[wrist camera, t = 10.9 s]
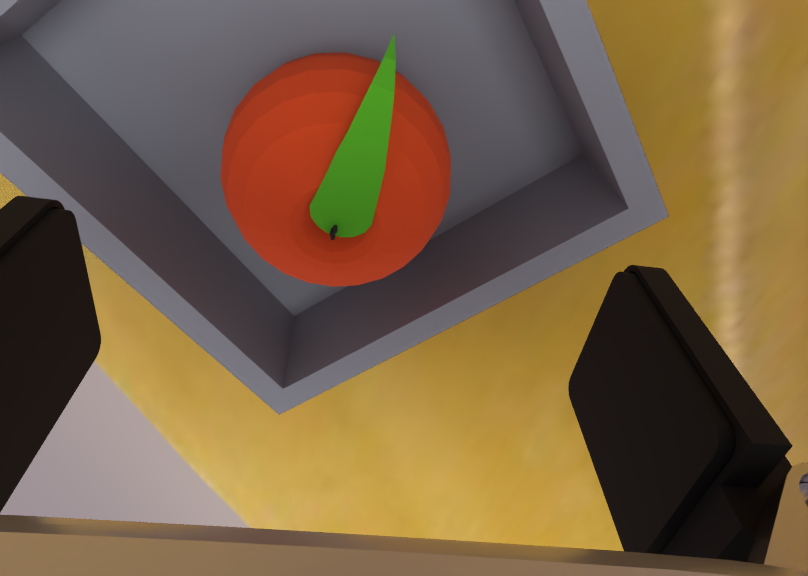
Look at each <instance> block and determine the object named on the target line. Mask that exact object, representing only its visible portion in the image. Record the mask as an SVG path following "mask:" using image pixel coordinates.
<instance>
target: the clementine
mask: <svg viewBox="0 0 808 576" xmlns="http://www.w3.org/2000/svg"><path fill="white" fill-rule="evenodd" d="M395 67H396V56H395V35H393V37H392V39H391V42H390V44H389V46H388V49H387V51H386V53H385V56H384V58H383V60H382V62H381V63H380V62H379V61H377V60H375V59H371V58H367V57H363V56H358V55H354V54H350V53H346V52H339V53H314V54H311V55H308V56H305V57H302V58H299V59H296V60H292V61H289V62H286V63H284V64H283V65H282V66H280V67H279V68H277V69H276V70H274V71H273V72H271V73H270V74H269V75H267V76H266V77H264V78H263V79H261V80H260V81H259V82H257V83H256V84H255V85H254V86H253V87H252V88H251V89H250V91H249V92H248V93H247V94H246V96H245V97H244V98H243V99H242V101H241V102H240V103H239V105H238V106H237V107H236V108H235V110H234V113H233V115H232V118H231V121H230V123H229V126H228V128H227V131H226V134H225V136H224V142H223V149H222V164H221V183H222V187H223V192H224V196H225V201H226V205H227V207H228V209H229V211H230V213H231V215H232V217H233V218H234V220H235V222H236V224H237V226H238V228H239V230H240V232H241V233H242V235H243V237H244V239H245V240H246V241H247V243H248V244H249V245H250V246H251V247H252V248H253V249H254V250H255V251H256V252H257V253H258V255H259V256H260V257H261V258H262V259H263V260H265V261H266V262H268V263H269V264H271V265H272V266H274V267H275V268H277V269H278V270H280V271H281V272H283V273H284V274H287V275H290V276H292V277H295V278H297V279H300V280H302V281H305V282H307V283H313V284H320V285H326V286H332V287H335V286H354V285H361V284H364V283H368V282H372V281H375V280H379V279H382V278H384V277H386V276H388V275H390V274H391V273H393V272H395V271H397V270H399V269H401V268H403V267H404V266H405V265H406V264H407V263H408V262H410V261H411V260H412V259H413V258H414V257H415V256H416V255H417V254H418V253H419V252H421V251H422V249H423V248H424V246H425V245H426V244H427V242H428V241H429V239H430V238H431V236H432V235H433V233H434V232H435V230H436V229H437V227H438V226H439V224H440V222H441V221H442V218H443V215H444V212H445V209H446V206H447V203H448V200H449V197H450V177H451V154H450V150H449V146H448V143H447V139H446V135H445V131H444V127H443V125H442V124H441V122H440V120H439V119H438V117H437V115H436V113H435V112H434V110H433V108H432V106H431V105H430V103H429V101H428V100H427V99H426V98H425V97H424V96H423V95H422V94H421V93H420V92H419V91H418V90H417V89H416V88H415V87H414V86H413V85H412V84H411V83H410V82H409V81H408V80H407V79H406V78H405V77H404V76H403V75H402V74H400V73H399V72H397V71H395Z"/></svg>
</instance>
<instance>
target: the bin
mask: <svg viewBox="0 0 808 576" xmlns="http://www.w3.org/2000/svg"><path fill="white" fill-rule="evenodd" d="M393 35H395V56H396V67H395V71H397V72H399V73H400V74H402V75H403V76H404V77H405V78H406V79H407V80H408V81H409V82H410V83H411V84H412V85H413V86H414V87H415V88H416V89H417V90H418V91H419V92H420V93H421V94H422V95H423V96H424V97H425V98H426V99H427V100H428V101H429V103H430V105H431V106H432V108H433V110H434V112H435V113H436V115H437V117H438V119H439V120H440V122H441V124H442V125H443V127H444V131H445V135H446V139H447V143H448V146H449V150H450V154H451V177H450V197H449V200H448V203H447V206H446V209H445V212H444V215H443V218H442V221H441V222H440V224H439V226H438V227H437V229H436V230H435V232H434V233H433V235H432V236H431V238H430V239H429V241H428V242H427V244H426V245H425V246H424V248H423V249H422V251H421V252H419V253H418V254H417V255H416V256H415V257H414V258H413V259H412V260H411V261H410V262H408V263H407V264H406V265H405V266H404V267H403V268H401V269H399V270H397V271H395V272H393V273H391V274H390V275H388V276H386V277H384V278H382V279H379V280H375V281H372V282H368V283H364V284H361V285H354V286H335V287H332V286H326V285H320V284H313V283H307V282H305V281H302V280H300V279H297V278H295V277H292V276H290V275H287V274H284V273H283V272H281V271H280V270H278V269H277V268H275V267H274V266H272V265H271V264H269V263H268V262H266V261H265V260H263V259H262V258H261V257H260V256H259V255H258V253H257V252H256V251H255V250H254V249H253V248H252V247H251V246H250V245H249V244H248V243H247V241H246V240H245V239H244V237H243V235H242V233H241V232H240V230H239V228H238V226H237V224H236V222H235V220H234V218H233V217H232V215H231V213H230V211H229V209H228V207H227V205H226V201H225V196H224V192H223V187H222V183H221V164H222V149H223V142H224V136H225V134H226V131H227V128H228V126H229V123H230V121H231V118H232V115H233V113H234V110H235V108H236V107H237V106H238V105H239V103H240V102H241V101H242V99H243V98H244V97H245V96H246V94H247V93H248V92H249V91H250V89H251V88H252V87H253V86H254V85H255V84H256V83H257V82H259V81H260V80H261V79H263V78H264V77H266V76H267V75H269V74H270V73H271V72H273V71H274V70H276V69H277V68H279V67H280V66H282V65H283V64H284V63H286V62H289V61H292V60H296V59H299V58H302V57H305V56H308V55H311V54H314V53H339V52H346V53H350V54H354V55H358V56H363V57H367V58H371V59H375V60H377V61H379V62H380V63H381V62H382V60H383V58H384V56H385V53H386V51H387V49H388V46H389V44H390V42H391V39H392V37H393ZM0 173H1V174H2V175H3V176H5V177H6V178H7V179H8V180H9V181H10V182H11V183H13V184H14V185H15V186H16V187H17V188H18V189H20V190H21V191H22V192H23V193H24V194H25V195H26V196H28V197H35V198H43V199H52V200H58V201H59V202H61V203H62V205H63V206H64V208H65V210H70V211H72V212H73V214H74V215H75V218H76V222H77V226H78V231H79V236H80V240H81V243H82V244H83V245H84V246H85V247H86V248H88V249H89V250H90V251H91V252H92V253H93V254H94V255H96V256H97V257H98V258H99V259H100V260H101V261H103V262H104V263H105V264H106V265H107V266H108V267H109V268H111V269H112V270H113V271H114V272H115V273H116V274H118V275H119V276H120V277H121V278H122V279H123V280H124V281H126V282H127V283H128V284H129V285H130V286H131V287H133V288H134V289H135V290H136V291H137V292H138V293H139V294H141V295H142V296H143V297H144V298H145V299H146V300H148V301H149V302H150V303H151V304H152V305H153V306H154V307H156V308H157V309H158V310H159V311H160V312H161V313H163V314H164V315H165V316H166V317H167V318H168V319H169V320H171V321H172V322H173V323H174V324H175V325H176V326H178V327H179V328H180V329H181V330H182V331H183V332H184V333H186V334H187V335H188V336H189V337H190V338H191V339H192V340H194V341H195V342H196V343H197V344H198V345H199V346H201V347H202V348H203V349H204V350H205V351H206V352H207V353H209V354H210V355H211V356H212V357H213V358H214V359H216V360H217V361H218V362H219V363H220V364H221V365H222V366H224V367H225V368H226V369H227V370H228V371H229V372H231V373H232V374H233V375H234V376H235V377H236V378H237V379H239V380H240V381H241V382H242V383H243V384H244V385H246V386H247V387H248V388H249V389H250V390H251V391H252V392H254V393H255V394H256V395H257V396H258V397H259V398H261V399H262V400H263V401H264V402H265V403H266V404H267V405H269V406H270V407H271V408H272V409H273V410H274V411H276V412H277V413H278V414H281V413H283V412H285V411H287V410H289V409H291V408H293V407H295V406H297V405H299V404H301V403H303V402H305V401H307V400H309V399H311V398H313V397H315V396H317V395H319V394H321V393H323V392H325V391H327V390H329V389H330V388H332V387H334V386H336V385H338V384H340V383H342V382H344V381H346V380H348V379H350V378H352V377H354V376H356V375H358V374H360V373H362V372H364V371H366V370H368V369H370V368H372V367H374V366H376V365H378V364H380V363H382V362H384V361H386V360H387V359H389V358H391V357H393V356H395V355H397V354H399V353H401V352H403V351H405V350H407V349H409V348H411V347H413V346H415V345H417V344H419V343H421V342H423V341H425V340H427V339H429V338H431V337H433V336H435V335H437V334H439V333H441V332H442V331H444V330H446V329H448V328H450V327H452V326H454V325H456V324H458V323H460V322H462V321H464V320H466V319H468V318H470V317H472V316H474V315H476V314H478V313H480V312H482V311H484V310H486V309H488V308H490V307H492V306H494V305H496V304H498V303H499V302H501V301H503V300H505V299H507V298H509V297H511V296H513V295H515V294H517V293H519V292H521V291H523V290H525V289H527V288H529V287H531V286H533V285H535V284H537V283H539V282H541V281H543V280H545V279H547V278H549V277H551V276H553V275H554V274H556V273H558V272H560V271H562V270H564V269H566V268H568V267H570V266H572V265H574V264H576V263H578V262H580V261H582V260H584V259H586V258H588V257H590V256H592V255H594V254H596V253H598V252H600V251H602V250H604V249H606V248H608V247H610V246H611V245H613V244H615V243H617V242H619V241H621V240H623V239H625V238H627V237H629V236H631V235H633V234H635V233H637V232H639V231H641V230H643V229H645V228H647V227H649V226H651V225H653V224H655V223H657V222H659V221H661V220H663V219H665V218H666V217H668V216H669V215H668V213H667V210H666V207H665V205H664V202H663V200H662V197H661V194H660V192H659V189H658V187H657V184H656V181H655V179H654V176H653V173H652V171H651V168H650V166H649V163H648V160H647V158H646V155H645V153H644V150H643V147H642V145H641V142H640V139H639V137H638V134H637V132H636V129H635V126H634V124H633V121H632V119H631V116H630V113H629V111H628V108H627V105H626V103H625V100H624V98H623V95H622V92H621V90H620V87H619V85H618V82H617V79H616V77H615V74H614V71H613V69H612V66H611V64H610V61H609V58H608V56H607V53H606V51H605V48H604V45H603V43H602V40H601V37H600V35H599V32H598V30H597V27H596V24H595V22H594V19H593V17H592V14H591V11H590V9H589V6H588V4H587V1H586V0H0Z"/></svg>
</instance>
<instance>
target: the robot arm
mask: <svg viewBox="0 0 808 576" xmlns="http://www.w3.org/2000/svg"><path fill="white" fill-rule="evenodd" d="M100 344H101V335H100V330H99V325H98V320H97V315H96V311H95V306H94V301H93V297H92V292H91V287H90V283H89V278H88V273H87V268H86V264H85V259H84V254H83V250H82V245H81V240H80V236H79V231H78V226H77V222H76V218H75V215H74V214H73V212H72V211H70V210H65V208H64V206H63V205H62V203H61V202H59V201H58V200H52V199H43V198H35V197H26V196H17V197H15V198H13V199H12V200H11V201H10V202H8V203H7V204H6V205H5V206H4V207H2V208H1V209H0V512H1V510H2V509H3V507H4V506H5V504H6V502H7V501H8V499H9V497H10V496H11V494H12V493H13V491H14V489H15V488H16V486H17V485H18V483H19V481H20V480H21V478H22V476H23V475H24V473H25V472H26V470H27V468H28V467H29V465H30V464H31V462H32V460H33V459H34V457H35V455H36V454H37V452H38V450H39V449H40V447H41V445H42V444H43V443H44V441H45V439H46V437H47V436H48V434H49V433H50V431H51V430H52V428H53V426H54V425H55V423H56V421H57V420H58V418H59V417H60V415H61V413H62V412H63V410H64V409H65V407H66V405H67V404H68V402H69V400H70V399H71V397H72V396H73V394H74V392H75V391H76V389H77V388H78V386H79V384H80V383H81V381H82V379H83V378H84V376H85V374H86V373H87V371H88V370H89V368H90V367H91V365H92V363H93V362H94V360H95V358H96V357H97V355H98V352H99V349H100ZM569 397H570V400H571V403H572V406H573V408H574V411H575V414H576V417H577V420H578V422H579V425H580V428H581V431H582V434H583V437H584V439H585V442H586V445H587V448H588V451H589V453H590V456H591V459H592V462H593V465H594V468H595V470H596V473H597V476H598V479H599V482H600V484H601V487H602V490H603V493H604V496H605V499H606V501H607V504H608V507H609V510H610V513H611V515H612V518H613V521H614V524H615V527H616V530H617V532H618V535H619V538H620V541H621V544H622V546H623V549H624V551H611V550H595V549H580V548H564V547H549V546H534V545H518V544H503V543H487V542H472V541H456V540H440V539H424V538H407V537H391V536H374V535H357V534H341V533H324V532H307V531H290V530H273V529H255V528H237V527H220V526H201V525H184V524H166V523H165V524H164V523H147V522H128V521H111V520H92V519H74V518H54V517H53V518H52V517H37V516H17V515H0V576H808V463H800V464H798V465H795V466H793V467H792V465H791V464H790V463H789V461H788V460H787V458H786V457H785V455H786V453H787V452H788V451H789V450H790V449H791V447H792V445H791V443H790V442H789V440H788V439H787V438H786V436H785V435H784V434H783V432H782V431H781V429H780V428H779V427H778V425H777V424H776V422H775V421H774V420H773V418H772V417H771V416H770V414H769V413H768V411H767V410H766V409H765V407H764V406H763V404H762V403H761V402H760V400H759V399H758V398H757V396H756V395H755V393H754V392H753V391H752V389H751V388H750V386H749V385H748V384H747V382H746V381H745V380H744V378H743V377H742V375H741V374H740V373H739V371H738V370H737V368H736V367H735V366H734V364H733V363H732V362H731V360H730V359H729V357H728V356H727V355H726V353H725V352H724V350H723V349H722V348H721V346H720V345H719V344H718V342H717V341H716V339H715V338H714V337H713V335H712V334H711V332H710V331H709V330H708V328H707V327H706V325H705V324H704V323H703V321H702V320H701V319H700V317H699V316H698V314H697V313H696V312H695V310H694V309H693V307H692V306H691V305H690V303H689V302H688V301H687V299H686V298H685V296H684V295H683V294H682V292H681V291H680V289H679V288H678V287H677V285H676V284H675V283H674V281H673V280H672V278H671V277H670V276H669V274H668V273H667V272H666V271H665V270H664V269H661V268H654V267H645V266H636V265H631V266H628V267H627V268H626V269H625V270H624V272H618V273H617V274H616V275H615V276H614V278H613V280H612V282H611V284H610V287H609V289H608V291H607V294H606V296H605V298H604V301H603V303H602V305H601V307H600V310H599V312H598V314H597V317H596V319H595V321H594V324H593V326H592V328H591V331H590V333H589V335H588V338H587V340H586V342H585V345H584V347H583V349H582V352H581V354H580V356H579V359H578V361H577V363H576V366H575V368H574V370H573V373H572V375H571V377H570V380H569Z"/></svg>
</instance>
